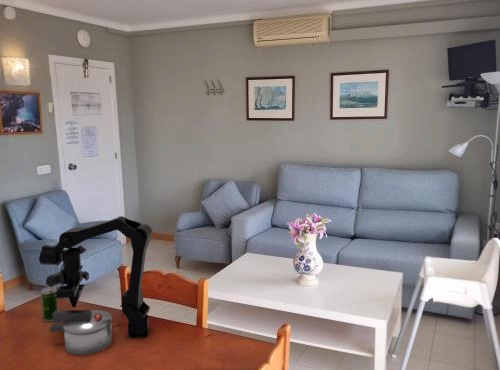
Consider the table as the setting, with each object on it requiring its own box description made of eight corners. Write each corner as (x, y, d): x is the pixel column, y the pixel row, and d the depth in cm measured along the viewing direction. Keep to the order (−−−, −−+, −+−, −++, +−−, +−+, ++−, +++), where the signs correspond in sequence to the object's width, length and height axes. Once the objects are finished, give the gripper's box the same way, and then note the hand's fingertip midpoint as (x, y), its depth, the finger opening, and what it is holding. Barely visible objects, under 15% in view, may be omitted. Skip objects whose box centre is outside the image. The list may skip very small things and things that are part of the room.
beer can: (60, 315, 172) (58, 285, 170) (55, 321, 166) (53, 291, 164) (46, 315, 171) (44, 286, 169) (40, 322, 166) (38, 291, 164)
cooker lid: (116, 312, 157) (115, 301, 157) (105, 333, 142) (104, 321, 141) (62, 314, 156) (61, 302, 155) (45, 335, 141) (44, 323, 140)
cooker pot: (116, 332, 158) (115, 313, 157) (105, 354, 143) (104, 334, 142) (60, 333, 157) (59, 315, 156) (44, 356, 142) (42, 335, 141)
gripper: (57, 257, 163) (60, 297, 165) (37, 274, 145) (40, 319, 147) (88, 256, 164) (90, 296, 166) (72, 273, 146) (75, 318, 148)
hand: (74, 306), depth 157 cm, fingers closed
